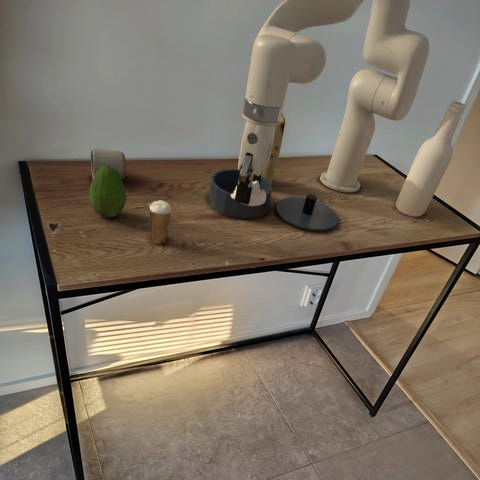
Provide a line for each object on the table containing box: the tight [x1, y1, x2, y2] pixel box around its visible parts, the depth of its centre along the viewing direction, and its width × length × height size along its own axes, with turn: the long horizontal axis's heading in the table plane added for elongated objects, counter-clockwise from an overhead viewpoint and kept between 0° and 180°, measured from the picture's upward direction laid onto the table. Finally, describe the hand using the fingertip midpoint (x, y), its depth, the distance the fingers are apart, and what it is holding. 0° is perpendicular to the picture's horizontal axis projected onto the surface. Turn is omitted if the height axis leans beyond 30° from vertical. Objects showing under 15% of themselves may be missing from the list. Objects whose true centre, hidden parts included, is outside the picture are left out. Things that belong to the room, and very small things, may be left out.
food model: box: [262, 113, 286, 184], centre depth 121 cm, size 10×7×20 cm
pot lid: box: [275, 193, 339, 232], centre depth 115 cm, size 17×17×6 cm
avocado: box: [89, 165, 128, 218], centre depth 98 cm, size 8×8×12 cm
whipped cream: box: [231, 181, 266, 206], centre depth 96 cm, size 8×7×5 cm
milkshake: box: [145, 196, 172, 245], centre depth 94 cm, size 5×5×10 cm
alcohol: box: [395, 100, 467, 218], centre depth 120 cm, size 9×9×30 cm
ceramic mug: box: [90, 147, 127, 181], centre depth 113 cm, size 11×8×8 cm
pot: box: [208, 168, 273, 220], centre depth 114 cm, size 16×16×6 cm
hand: (247, 194), depth 97 cm, fingers closed on whipped cream, 7 cm apart
